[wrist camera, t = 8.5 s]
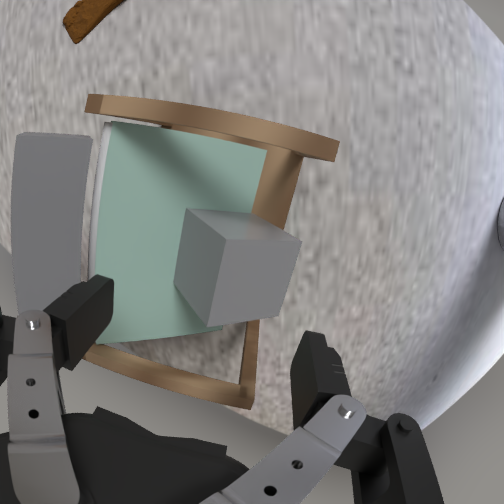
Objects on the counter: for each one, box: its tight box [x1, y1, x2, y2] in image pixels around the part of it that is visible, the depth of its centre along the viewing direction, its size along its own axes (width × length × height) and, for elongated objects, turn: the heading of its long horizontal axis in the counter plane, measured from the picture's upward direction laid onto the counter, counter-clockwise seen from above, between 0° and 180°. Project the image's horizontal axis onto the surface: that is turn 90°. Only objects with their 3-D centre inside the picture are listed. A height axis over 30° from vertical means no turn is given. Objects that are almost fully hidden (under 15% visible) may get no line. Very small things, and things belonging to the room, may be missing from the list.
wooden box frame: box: [82, 94, 340, 410], centre depth 21 cm, size 13×17×13 cm
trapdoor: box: [11, 121, 267, 344], centre depth 17 cm, size 15×14×3 cm
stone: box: [173, 208, 302, 327], centre depth 18 cm, size 5×5×5 cm
